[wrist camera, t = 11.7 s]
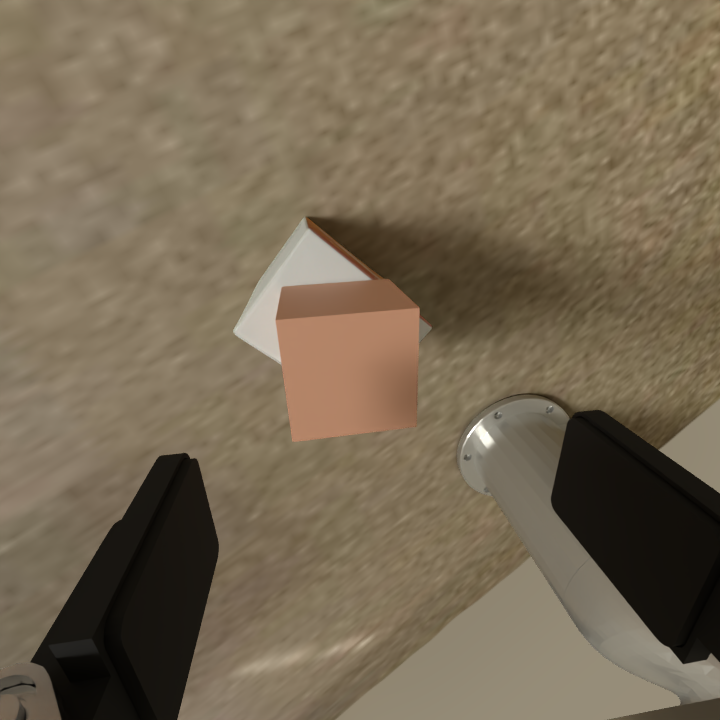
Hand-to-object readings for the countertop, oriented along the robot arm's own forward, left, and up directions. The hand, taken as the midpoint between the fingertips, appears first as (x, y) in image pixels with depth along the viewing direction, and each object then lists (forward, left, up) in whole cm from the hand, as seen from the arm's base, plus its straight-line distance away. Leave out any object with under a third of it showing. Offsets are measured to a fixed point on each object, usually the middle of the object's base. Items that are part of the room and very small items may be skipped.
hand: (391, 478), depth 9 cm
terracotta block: (0, 0, -10) cm, 10 cm away
